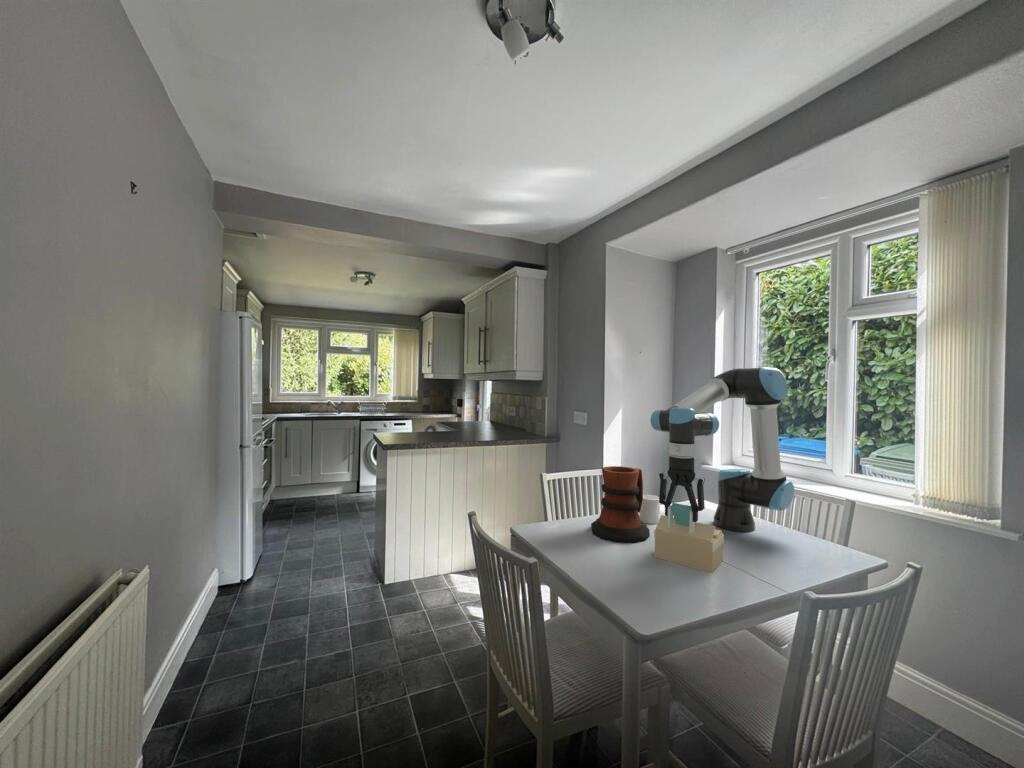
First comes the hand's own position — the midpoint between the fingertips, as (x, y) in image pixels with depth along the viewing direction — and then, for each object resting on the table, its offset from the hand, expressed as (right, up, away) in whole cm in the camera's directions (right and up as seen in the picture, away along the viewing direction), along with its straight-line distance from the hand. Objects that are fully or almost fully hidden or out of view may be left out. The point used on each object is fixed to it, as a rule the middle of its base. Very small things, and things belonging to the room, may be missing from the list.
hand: (681, 528), depth 134 cm
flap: (+2, -1, +3) cm, 4 cm away
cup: (+4, -12, +46) cm, 48 cm away
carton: (+5, -12, +6) cm, 14 cm away
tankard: (-11, -12, +31) cm, 35 cm away
